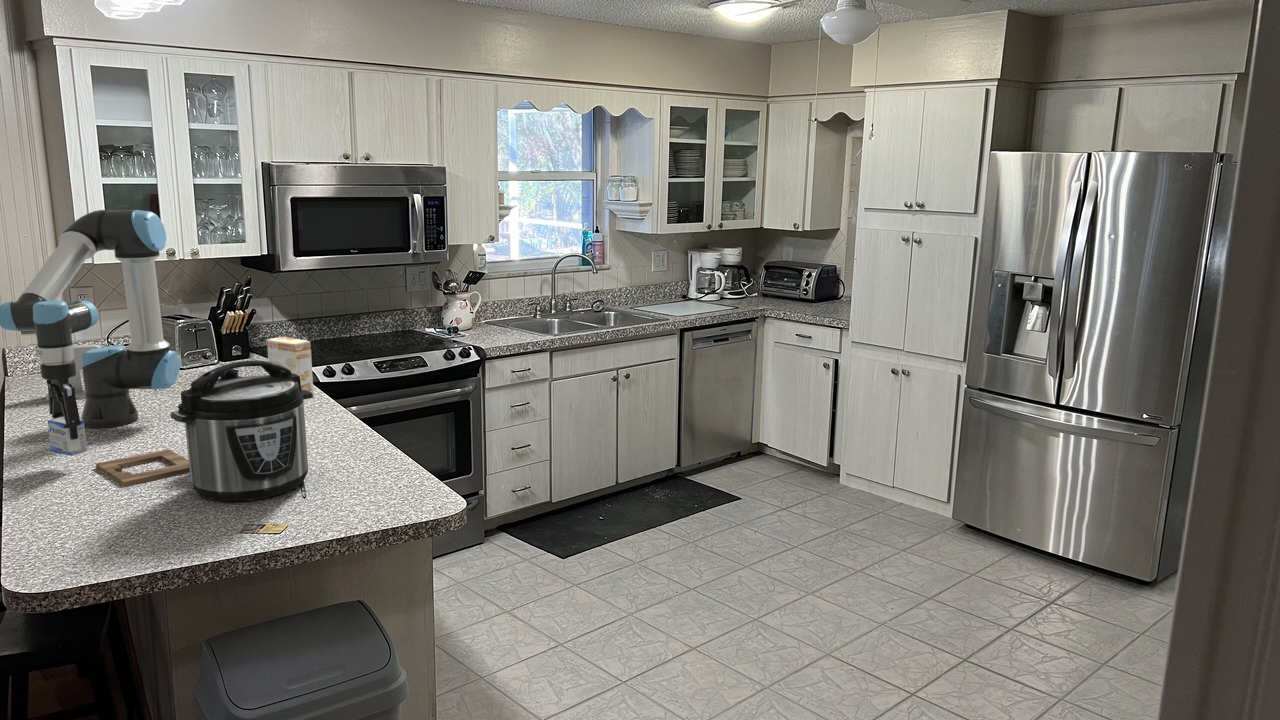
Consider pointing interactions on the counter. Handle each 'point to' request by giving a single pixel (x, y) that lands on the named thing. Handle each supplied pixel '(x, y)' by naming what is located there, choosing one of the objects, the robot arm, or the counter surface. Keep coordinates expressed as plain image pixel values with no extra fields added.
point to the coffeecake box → (293, 358)
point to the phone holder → (78, 369)
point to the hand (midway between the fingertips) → (68, 446)
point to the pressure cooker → (245, 432)
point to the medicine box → (64, 437)
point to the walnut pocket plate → (126, 478)
